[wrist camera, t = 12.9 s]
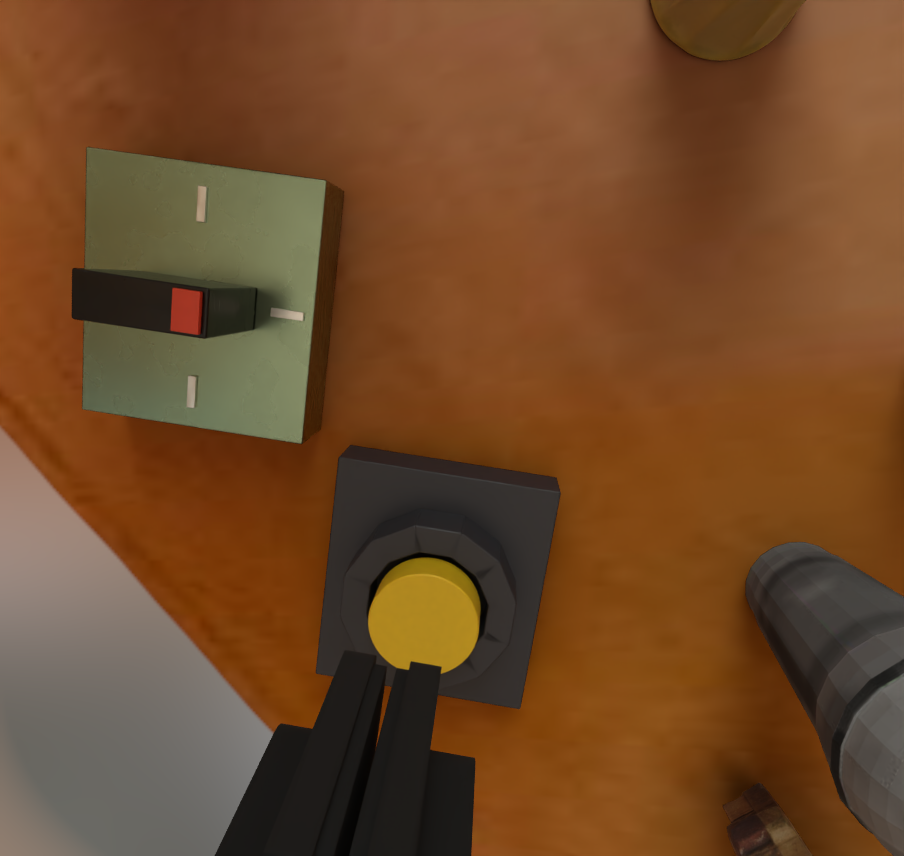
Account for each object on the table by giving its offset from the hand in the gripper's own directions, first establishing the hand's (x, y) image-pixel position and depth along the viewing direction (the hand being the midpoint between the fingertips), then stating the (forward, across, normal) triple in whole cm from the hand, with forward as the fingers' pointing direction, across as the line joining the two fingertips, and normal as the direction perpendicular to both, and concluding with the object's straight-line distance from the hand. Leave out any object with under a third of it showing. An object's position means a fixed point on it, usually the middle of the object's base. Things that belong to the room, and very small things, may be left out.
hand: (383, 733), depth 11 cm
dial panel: (+21, +12, -4) cm, 24 cm away
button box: (+20, 0, +7) cm, 22 cm away
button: (+16, 0, +7) cm, 18 cm away
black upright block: (+18, +12, -5) cm, 22 cm away
